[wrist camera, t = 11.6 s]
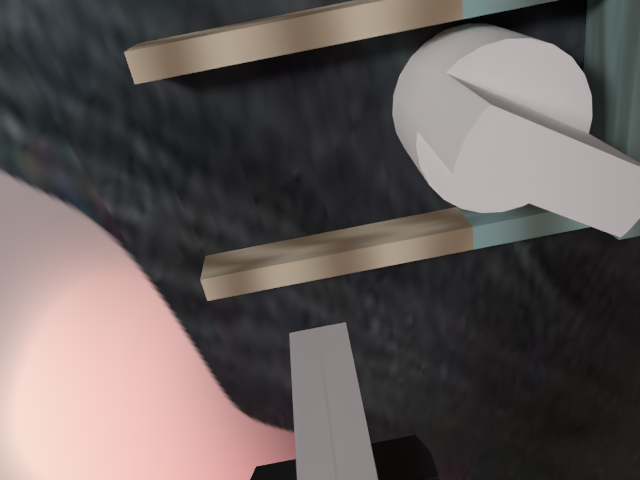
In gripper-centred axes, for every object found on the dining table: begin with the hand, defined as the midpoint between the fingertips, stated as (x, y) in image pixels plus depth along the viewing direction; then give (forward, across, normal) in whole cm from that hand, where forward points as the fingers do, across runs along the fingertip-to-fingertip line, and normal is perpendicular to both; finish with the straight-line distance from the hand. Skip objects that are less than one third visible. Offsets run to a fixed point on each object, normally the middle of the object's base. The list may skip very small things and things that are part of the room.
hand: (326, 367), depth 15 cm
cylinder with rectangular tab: (+21, +10, 0) cm, 23 cm away
